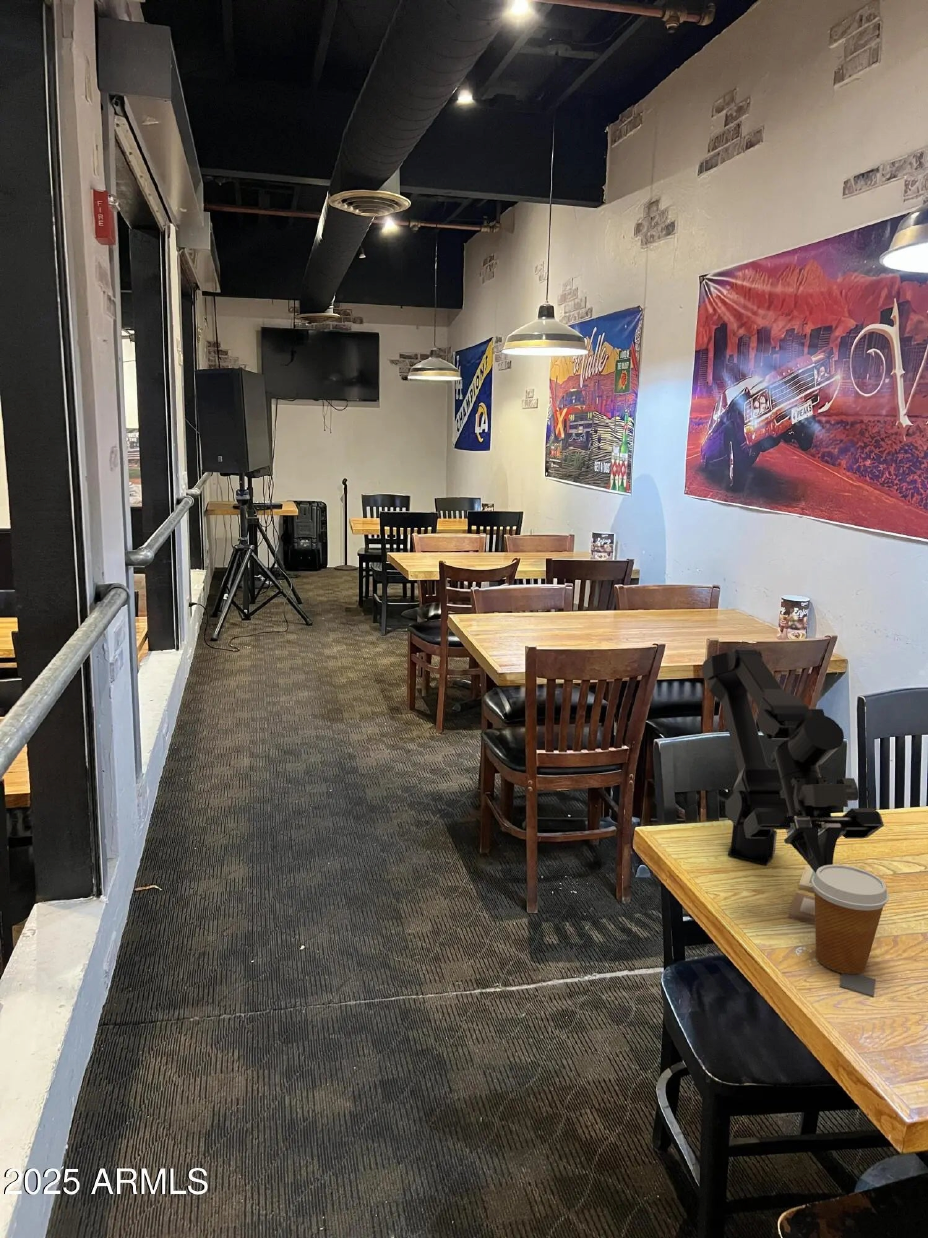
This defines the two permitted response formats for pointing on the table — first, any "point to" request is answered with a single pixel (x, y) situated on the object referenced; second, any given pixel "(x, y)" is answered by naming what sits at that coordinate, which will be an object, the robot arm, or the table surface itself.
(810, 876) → the birch marker tile
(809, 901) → the walnut marker tile
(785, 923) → the table surface
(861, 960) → the disposable coffee cup
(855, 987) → the black coaster
